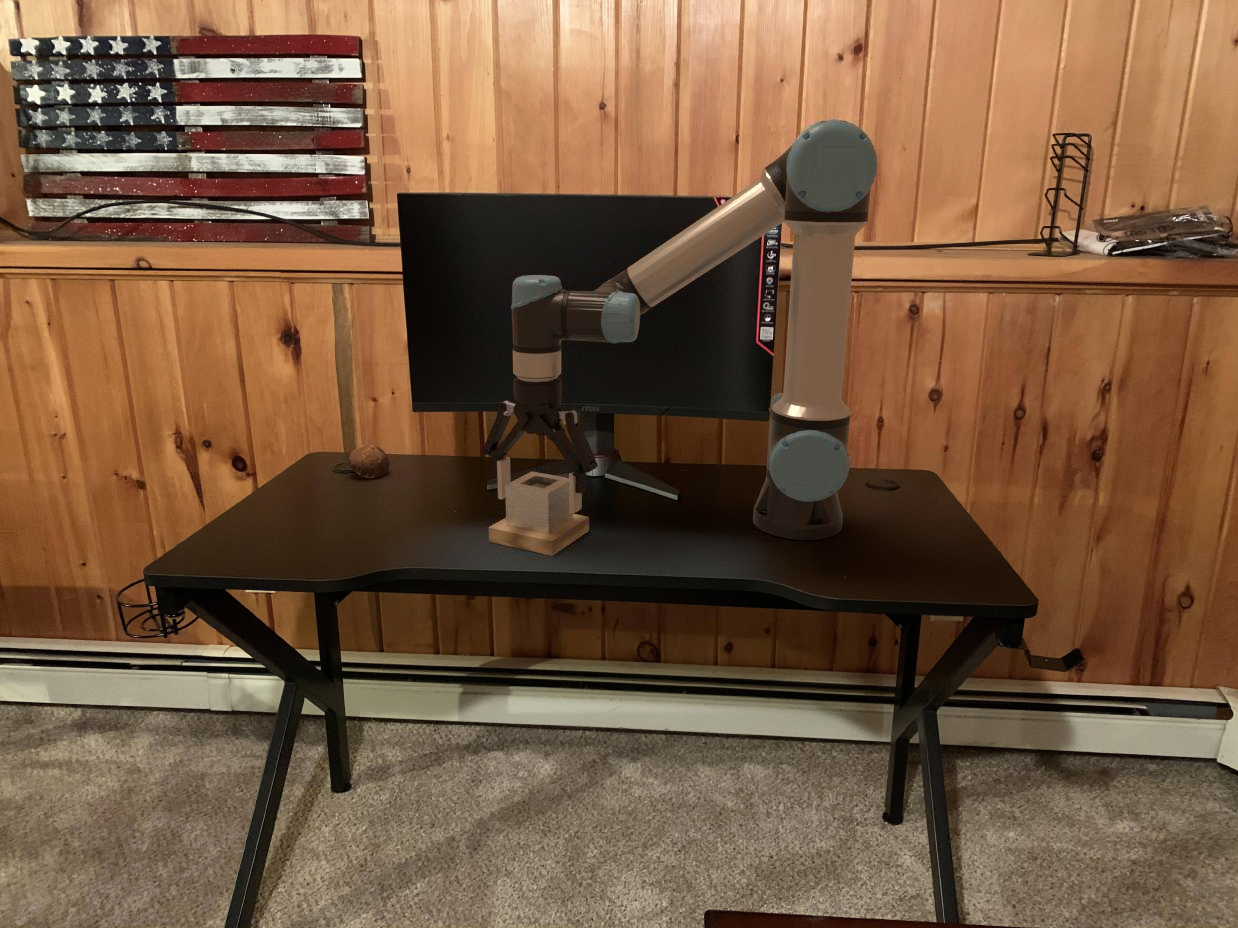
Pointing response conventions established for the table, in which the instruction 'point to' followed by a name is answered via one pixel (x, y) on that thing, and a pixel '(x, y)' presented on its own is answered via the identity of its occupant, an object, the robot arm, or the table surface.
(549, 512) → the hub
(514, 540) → the block
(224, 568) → the table surface
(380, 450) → the brown round lump
